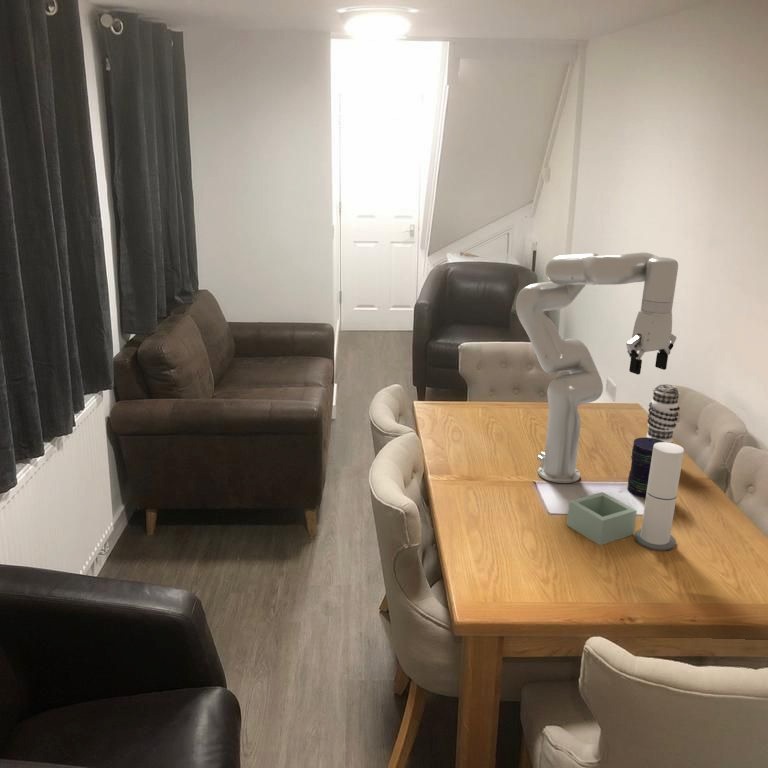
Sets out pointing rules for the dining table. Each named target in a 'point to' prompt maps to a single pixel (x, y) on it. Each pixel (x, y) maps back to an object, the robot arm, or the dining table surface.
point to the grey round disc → (656, 547)
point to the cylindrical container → (661, 492)
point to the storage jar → (640, 466)
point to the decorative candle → (663, 413)
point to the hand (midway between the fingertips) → (647, 370)
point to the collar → (601, 518)
